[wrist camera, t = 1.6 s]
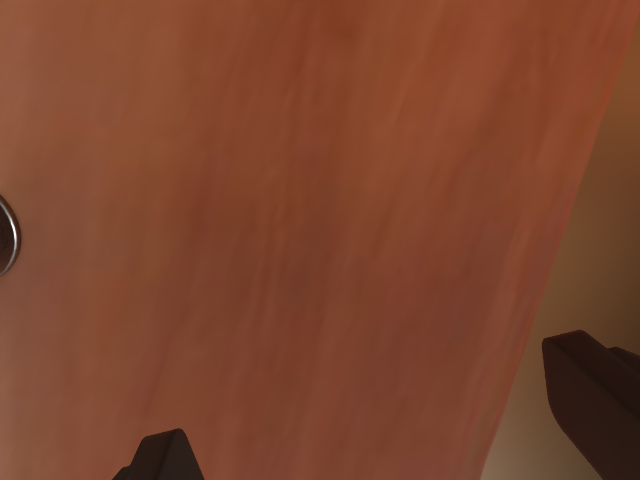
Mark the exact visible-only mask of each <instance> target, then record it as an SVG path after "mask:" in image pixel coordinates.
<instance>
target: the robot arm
mask: <svg viewBox="0 0 640 480" xmlns="http://www.w3.org/2000/svg"><path fill="white" fill-rule="evenodd" d="M20 242H21V237H20V230H19V225H18V222H17V220H16V217H15V215H14V213H13V211H12V210H11V208H10V207H9V205H8V204H7V203H6V201H5V200H4V199H3V198H2V197H1V196H0V276H1V275H3V274H4V273H5V272H6V271H8V270H9V269H10V267H11V266H12V265H13V263H14V262H15V260H16V258H17V256H18V253H19V249H20ZM542 352H543V360H544V369H545V378H546V386H547V395H548V401H549V404H550V408H551V410H552V413H553V415H554V417H555V419H556V421H557V423H558V424H559V426H560V427H561V429H562V430H563V431H564V433H565V434H566V435H567V436H568V437H569V439H570V440H571V441H572V442H573V443H574V445H575V446H576V447H577V448H578V450H579V451H580V452H581V453H582V454H583V456H584V457H585V458H586V459H587V461H588V462H589V463H590V464H591V465H592V467H594V469H595V470H596V471H597V473H598V474H599V475H600V476H601V477H602V479H603V480H640V356H639V355H636V354H634V353H631V352H629V351H626V350H623V349H621V348H618V347H613V348H609V349H607V348H605V347H604V346H603V345H601V344H600V343H599V342H598V341H596V340H595V339H594V338H593V337H591V336H590V335H589V334H587V333H586V332H585V331H582V330H576V331H572V332H568V333H564V334H560V335H557V336H552V337H548V338H545V339H544V340H543V342H542ZM112 480H204V477H203V475H202V473H201V470H200V468H199V465H198V463H197V461H196V458H195V456H194V453H193V451H192V449H191V446H190V444H189V441H188V439H187V437H186V434H185V433H184V431H183V430H182V429H179V428H178V429H174V430H170V431H166V432H162V433H158V434H154V435H150V436H146V437H144V438H143V440H142V441H141V443H140V445H139V447H138V449H137V452H136V454H135V456H134V458H133V460H132V462H131V465H130V466H127V467H123V468H122V469H121V470H120V471H119V472H118V473H117V475H116V476H115V477H114V478H113V479H112Z"/></svg>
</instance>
